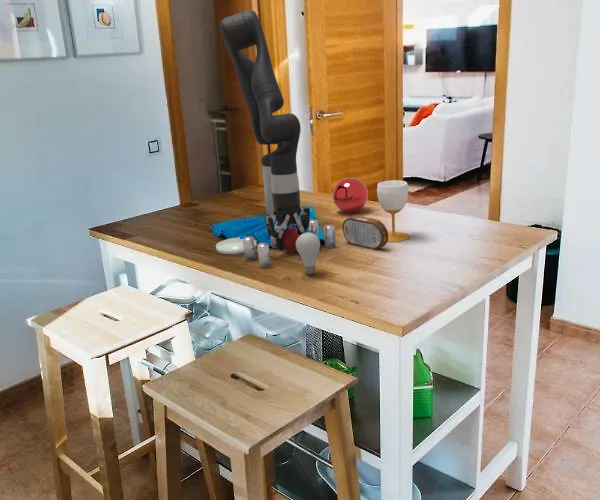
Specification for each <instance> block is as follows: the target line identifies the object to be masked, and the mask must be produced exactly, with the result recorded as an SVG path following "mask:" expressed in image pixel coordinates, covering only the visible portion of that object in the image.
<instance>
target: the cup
mask: <svg viewBox="0 0 600 500" xmlns="http://www.w3.org/2000/svg"><path fill="white" fill-rule="evenodd" d="M408 184H409V183H408V182H407V181H405V180H399V179H398V180H397V179H395V180H392V179H391V180H384V181H380V182H378V183H377V187H376V194H377V199H378V203H379V205H380V207H381V208H382V209H383V211H385V212H386V213H388V214H390V215H391V231H388V242H387V243H397V242H398V243H399V242H403V241H406V240H408V239H409V238H410V235H409V234H408V233H406V232H402V231H396V222H395V221H396V220H395V215H396V214H398V213H400V212H401V211H402V210H403V209H404V208H405V206H406V203H407V200H408V196H409V185H408Z"/></svg>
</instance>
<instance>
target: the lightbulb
mask: <svg viewBox="0 0 600 500" xmlns="http://www.w3.org/2000/svg"><path fill="white" fill-rule="evenodd" d="M320 249H321V242H320V237H319V238H318V237H317V236H316V235H315V234H313V233H309V232H303V234H302V235H300V236H299V237H298V239H297V241H296V249H295V250H296V251H297V252H298V254H299V255H300V256H301V257H302V260H301V261H302V264H303V266H304V273H305V274H308V275H309V276H310V275H313V274H314V273H316V260H317V256H318V254H319V251H320Z"/></svg>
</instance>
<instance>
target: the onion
mask: <svg viewBox="0 0 600 500" xmlns="http://www.w3.org/2000/svg"><path fill="white" fill-rule="evenodd" d="M298 237H299V234H298V233H297V230H296V229H295V228H293V227H292V224H290V225H288V226H286V229H285V231H284V232H283V235H282V238H283V245H284V250H285V251H287V253H288V252H289V253H293V252H294V251H295V250H297V249H296V241H297V239H298Z"/></svg>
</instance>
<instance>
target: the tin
mask: <svg viewBox="0 0 600 500" xmlns="http://www.w3.org/2000/svg"><path fill="white" fill-rule="evenodd" d="M388 232H389V231H388V229H387V227H386V226H385V224H384V223H383V222H382V221H381V220H379V219H377V218H372V217H366V216H361V215H356V214H353V215H351V216H349V217H348V218H346V219H345V220H343V222H342V234H343V237H344V238H345V240H346V241H347V242H348V243H349V244H351V245H354V246H357V247H362V248H365V249H371V250H378V249H380V248H382V247H385V246H386V245H387V244H388V243H389V242H388Z"/></svg>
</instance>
